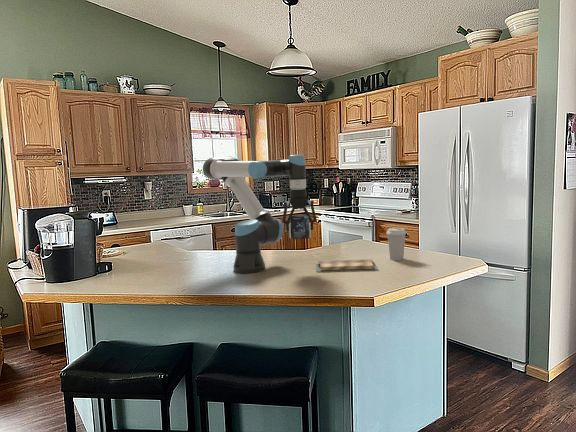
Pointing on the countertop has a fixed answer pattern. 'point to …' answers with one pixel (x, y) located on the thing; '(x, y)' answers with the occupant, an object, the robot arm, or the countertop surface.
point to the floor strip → (345, 261)
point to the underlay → (318, 269)
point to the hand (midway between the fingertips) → (300, 237)
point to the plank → (347, 266)
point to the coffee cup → (396, 243)
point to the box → (300, 227)
